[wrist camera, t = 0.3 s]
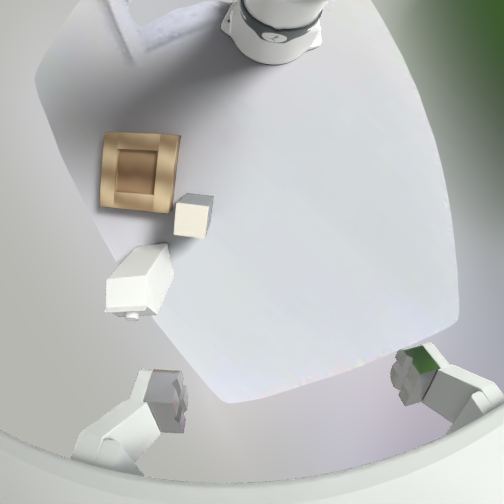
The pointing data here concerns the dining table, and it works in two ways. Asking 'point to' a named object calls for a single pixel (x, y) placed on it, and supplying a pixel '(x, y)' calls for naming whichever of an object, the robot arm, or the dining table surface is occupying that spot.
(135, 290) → the milk carton
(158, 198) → the square wooden tray
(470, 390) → the robot arm
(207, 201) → the plain greyish beige box
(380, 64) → the dining table surface
